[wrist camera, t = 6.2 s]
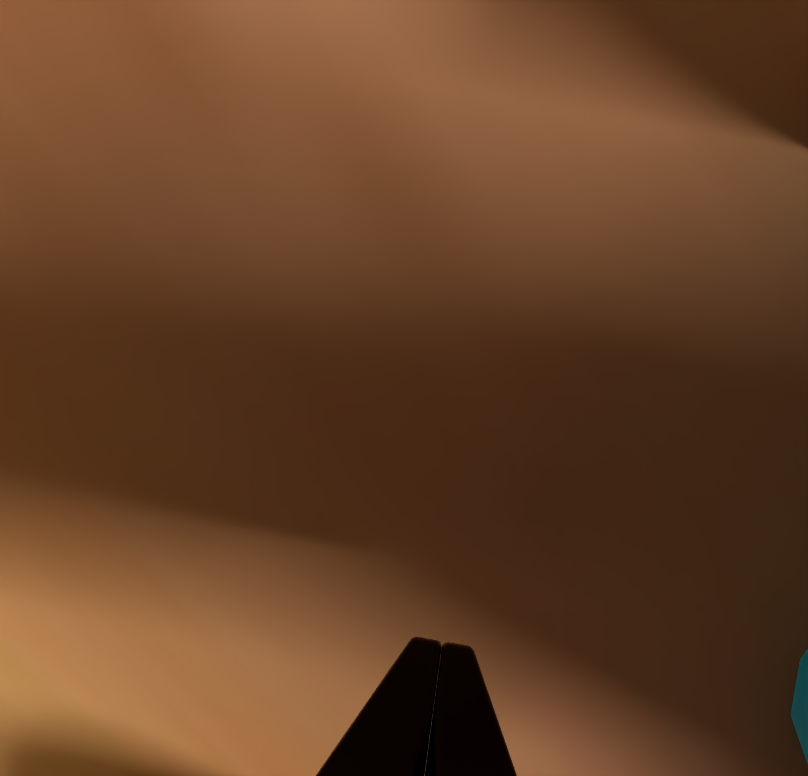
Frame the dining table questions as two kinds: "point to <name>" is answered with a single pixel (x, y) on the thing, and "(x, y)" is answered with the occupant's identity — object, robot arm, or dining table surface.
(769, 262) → the dining table surface
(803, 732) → the mug
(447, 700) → the robot arm
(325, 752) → the dining table surface
